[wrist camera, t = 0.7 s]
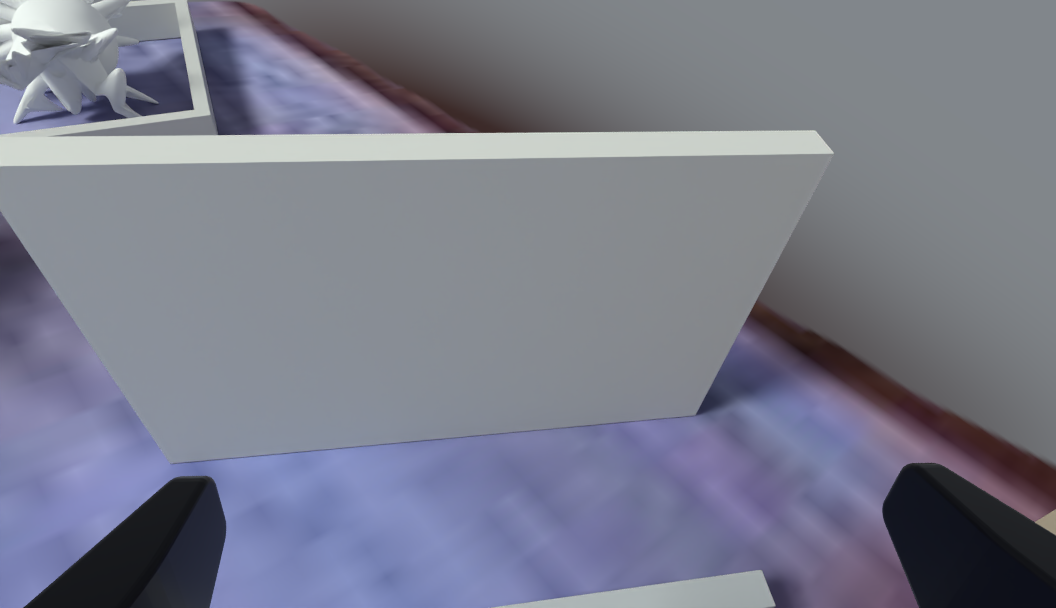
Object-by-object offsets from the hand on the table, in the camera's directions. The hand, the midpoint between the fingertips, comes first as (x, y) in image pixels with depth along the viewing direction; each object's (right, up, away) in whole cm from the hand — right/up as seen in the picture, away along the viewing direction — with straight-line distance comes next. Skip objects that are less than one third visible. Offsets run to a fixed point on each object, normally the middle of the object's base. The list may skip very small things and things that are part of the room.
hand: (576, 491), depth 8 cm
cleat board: (-4, -4, +17) cm, 18 cm away
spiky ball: (-30, +15, +32) cm, 47 cm away
